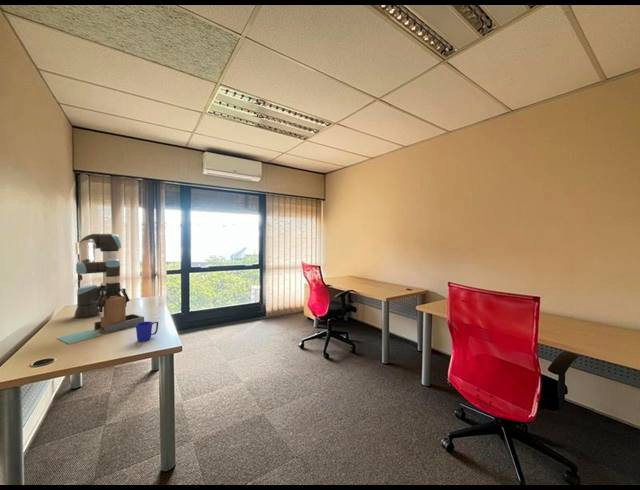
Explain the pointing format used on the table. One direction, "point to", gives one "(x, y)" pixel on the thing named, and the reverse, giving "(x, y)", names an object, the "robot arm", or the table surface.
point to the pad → (79, 336)
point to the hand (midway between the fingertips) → (113, 314)
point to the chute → (120, 324)
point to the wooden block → (114, 310)
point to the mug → (145, 330)
